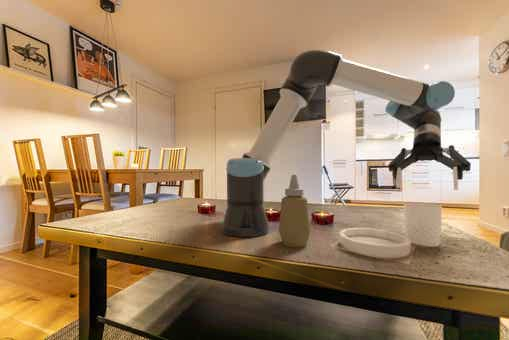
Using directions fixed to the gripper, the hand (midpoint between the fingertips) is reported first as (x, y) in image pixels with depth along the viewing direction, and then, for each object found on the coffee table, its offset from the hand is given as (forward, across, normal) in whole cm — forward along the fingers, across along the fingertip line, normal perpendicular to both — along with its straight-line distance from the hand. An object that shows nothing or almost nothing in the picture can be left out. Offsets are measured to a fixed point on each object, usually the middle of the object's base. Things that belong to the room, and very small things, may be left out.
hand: (424, 186), depth 65 cm
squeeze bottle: (+33, +25, +13) cm, 44 cm away
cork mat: (+26, +9, +6) cm, 28 cm away
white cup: (+18, 0, -3) cm, 18 cm away
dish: (+26, +9, +6) cm, 28 cm away
